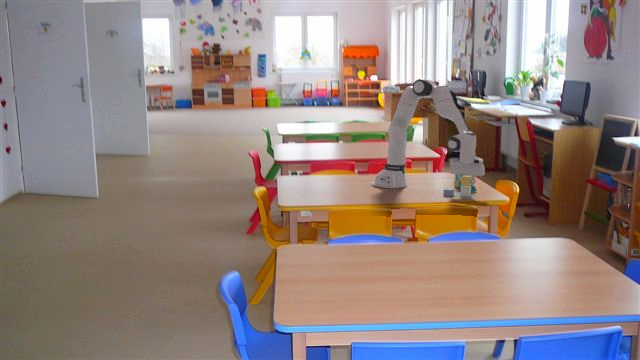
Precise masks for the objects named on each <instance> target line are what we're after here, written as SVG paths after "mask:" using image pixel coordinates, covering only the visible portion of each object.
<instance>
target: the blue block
mask: <svg viewBox="0 0 640 360" xmlns="http://www.w3.org/2000/svg"><path fill="white" fill-rule="evenodd" d="M454 194H455V188H450V187H445V188H444V189H443V197H452V196H453V195H454Z"/></svg>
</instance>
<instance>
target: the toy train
mask: <svg viewBox="0 0 640 360" xmlns="http://www.w3.org/2000/svg"><path fill="white" fill-rule="evenodd" d="M454 175H455V177H454V182H453V186H454V188H457V189H460V190H461V187H462V185H461V182H459V178H458V174H454ZM462 176H472V175H461V176H460V177H462ZM475 178H476V177H475ZM475 178H474V180H473V183H471V185H470V186H468V187H471V192H477V189H476V186H475V183H476V179H475ZM472 179H473V177H472V178H471V180H472Z"/></svg>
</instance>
